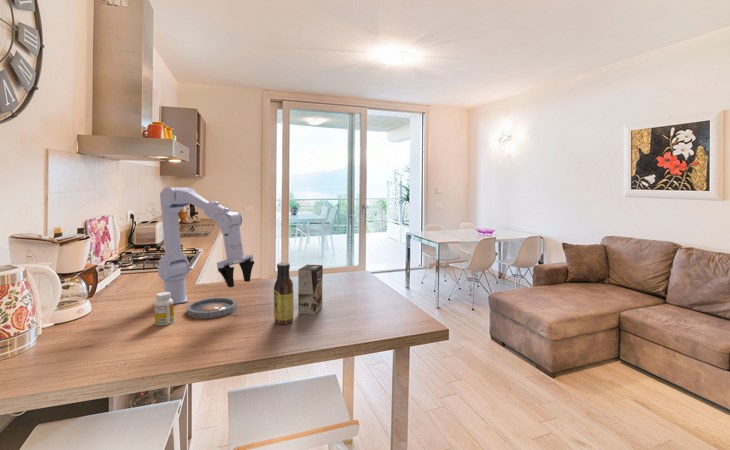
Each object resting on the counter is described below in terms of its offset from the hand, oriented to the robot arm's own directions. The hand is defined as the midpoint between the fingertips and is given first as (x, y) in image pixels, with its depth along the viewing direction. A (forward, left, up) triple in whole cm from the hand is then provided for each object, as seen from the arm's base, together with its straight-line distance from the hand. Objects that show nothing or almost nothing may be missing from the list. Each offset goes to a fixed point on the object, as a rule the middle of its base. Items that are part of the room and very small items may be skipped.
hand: (239, 284), depth 121 cm
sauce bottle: (+15, +11, -11) cm, 22 cm away
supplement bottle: (-3, -23, -11) cm, 26 cm away
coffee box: (+9, +23, -11) cm, 27 cm away
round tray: (-8, -8, -10) cm, 15 cm away
